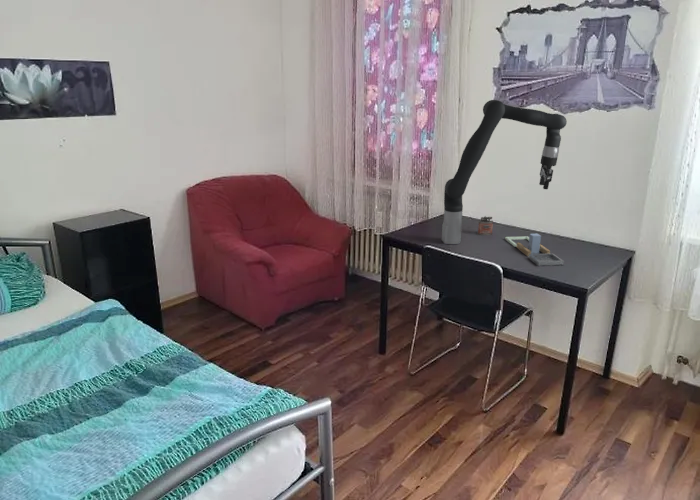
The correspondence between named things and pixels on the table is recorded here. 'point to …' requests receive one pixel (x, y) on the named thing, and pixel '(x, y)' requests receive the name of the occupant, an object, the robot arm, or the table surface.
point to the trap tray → (546, 259)
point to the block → (534, 243)
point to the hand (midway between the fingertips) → (543, 187)
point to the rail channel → (527, 251)
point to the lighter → (485, 226)
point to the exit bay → (515, 239)
